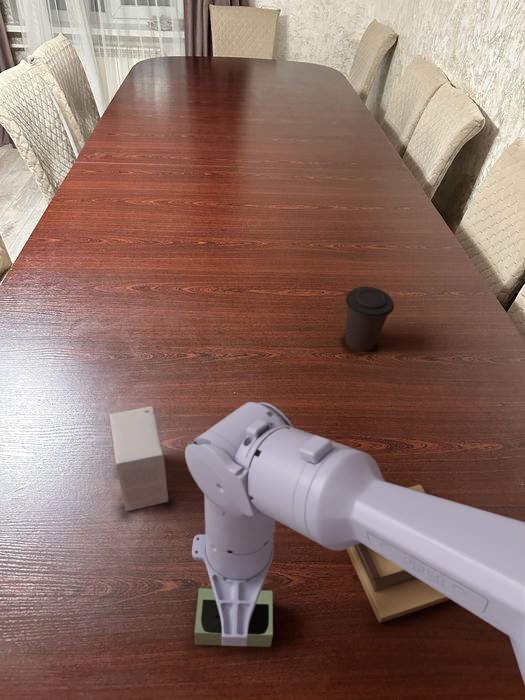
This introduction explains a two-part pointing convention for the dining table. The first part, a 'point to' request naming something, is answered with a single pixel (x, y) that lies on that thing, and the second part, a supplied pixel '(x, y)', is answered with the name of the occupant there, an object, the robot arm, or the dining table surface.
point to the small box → (138, 458)
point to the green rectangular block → (216, 638)
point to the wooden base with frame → (391, 583)
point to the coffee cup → (366, 316)
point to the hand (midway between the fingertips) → (235, 591)
